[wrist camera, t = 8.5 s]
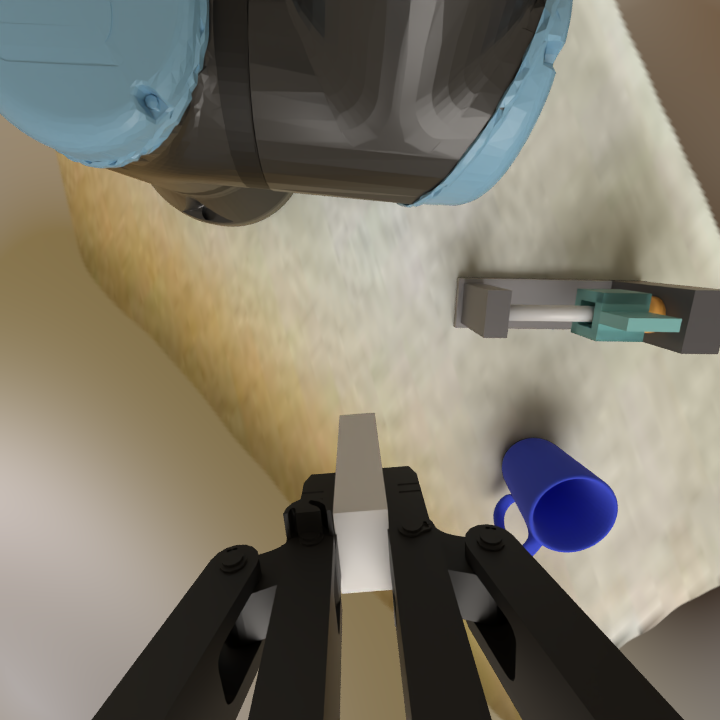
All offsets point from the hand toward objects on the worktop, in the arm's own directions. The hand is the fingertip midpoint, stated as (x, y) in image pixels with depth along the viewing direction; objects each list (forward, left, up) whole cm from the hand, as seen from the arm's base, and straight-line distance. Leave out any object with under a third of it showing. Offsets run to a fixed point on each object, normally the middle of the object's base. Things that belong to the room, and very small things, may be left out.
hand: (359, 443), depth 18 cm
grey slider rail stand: (+9, +18, -26) cm, 32 cm away
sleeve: (+10, +20, -21) cm, 30 cm away
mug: (+25, +6, -26) cm, 36 cm away
